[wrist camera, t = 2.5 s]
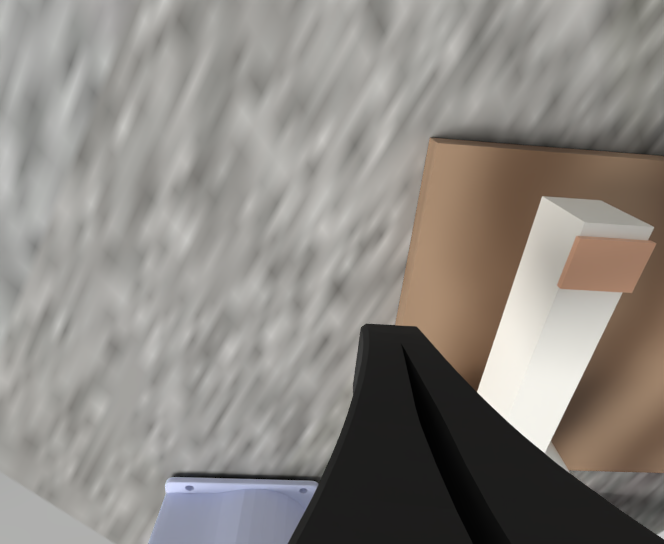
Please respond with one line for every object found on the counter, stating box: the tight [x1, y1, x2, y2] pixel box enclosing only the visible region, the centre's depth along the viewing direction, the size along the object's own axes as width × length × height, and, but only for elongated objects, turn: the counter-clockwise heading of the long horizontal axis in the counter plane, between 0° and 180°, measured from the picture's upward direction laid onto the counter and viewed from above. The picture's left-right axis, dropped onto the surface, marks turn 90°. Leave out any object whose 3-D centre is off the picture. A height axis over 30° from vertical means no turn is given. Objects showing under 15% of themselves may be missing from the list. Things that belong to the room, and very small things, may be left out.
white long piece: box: [477, 196, 657, 474], centre depth 16 cm, size 16×7×3 cm, turn 176°
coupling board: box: [395, 138, 664, 473], centre depth 19 cm, size 20×18×4 cm
